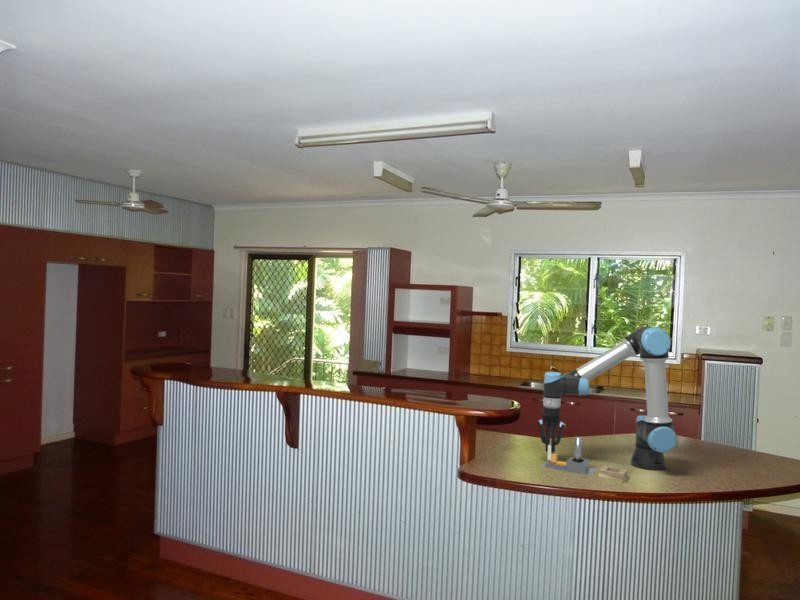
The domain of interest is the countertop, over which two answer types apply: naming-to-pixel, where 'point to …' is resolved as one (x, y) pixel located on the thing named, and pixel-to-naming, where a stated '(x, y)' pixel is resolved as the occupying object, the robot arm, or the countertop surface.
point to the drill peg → (578, 449)
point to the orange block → (556, 460)
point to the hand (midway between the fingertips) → (549, 459)
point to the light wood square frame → (613, 473)
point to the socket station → (572, 466)
